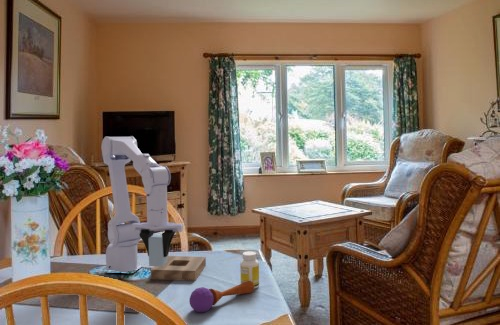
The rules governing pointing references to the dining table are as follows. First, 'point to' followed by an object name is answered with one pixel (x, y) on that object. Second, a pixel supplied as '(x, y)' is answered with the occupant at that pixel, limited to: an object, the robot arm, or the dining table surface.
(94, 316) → the dining table surface
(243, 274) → the supplement bottle
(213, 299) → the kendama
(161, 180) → the robot arm
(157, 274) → the socket block
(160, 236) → the peg
